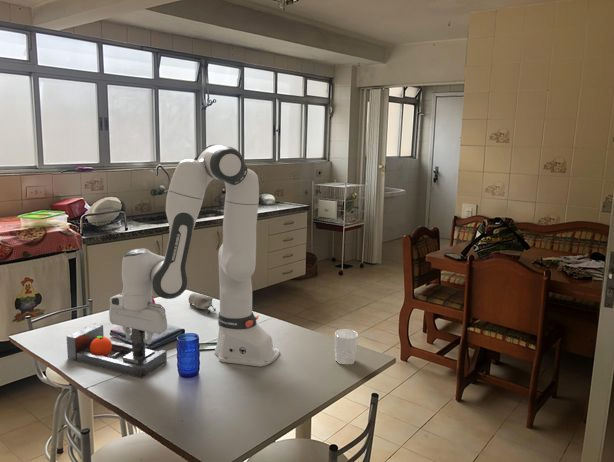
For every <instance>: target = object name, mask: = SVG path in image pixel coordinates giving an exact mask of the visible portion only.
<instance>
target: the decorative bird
mask: <svg viewBox="0 0 614 462" xmlns="http://www.w3.org/2000/svg"><path fill="white" fill-rule="evenodd" d="M213 300H214V297H212V296H209V295H206V294H200V293H196V292H193V293H191V294H189V296H188V303H189V306H191V305H194V306H195V308H197V309H200V310H207V311H208V312H207V315H210V313H211V309H213V312H217V311H216V307H215V308H214V306H213ZM210 307H212V308H211V309H210Z"/></svg>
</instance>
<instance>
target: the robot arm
mask: <svg viewBox="0 0 614 462" xmlns="http://www.w3.org/2000/svg"><path fill="white" fill-rule="evenodd" d="M213 180H217V181H218V180H219V181H222V182H224V185H225V186H224V187H225V199H224V207H223V219H222V244H221V245H220V247H219V249H218V254H217V255H218V281H219V312H218V316H217V317H218V319H217V323H218V336H217V342H216V346H215V348H214V354H215V355H216V356H217V358H218V360H219V361H220V362H222V363H229V364H236V365H237V364H238V365H244V366H253V367H260V368H261V367H265V366H268V365H270V364H271V363H273V362H274V361H276V359H277V358H278V357H279V355H280V349H279V348H277V347H274V344H273V338H272V337H271V335H270V334H269V333H268V332H267V331H265V329H263V328H262V327H261V326H260V325H259V324H258V323H257V320H259V317H260V315H256V316H255V314H254V311H253V285H252V276H253V274H254V272H255V270H256V262H257V260H256V259H257V221H258V210H259V200H260V184H259V175H257V173H256V172H255V171H254V170H252V169H250V168H247V166H246V163H245V160H244V157H243V156H242V154H241V153H240V151H239V150H237V149H236V148H234V147H232V146H228V145H225V144H210V145H208V146H206V147H205V148H203V149H202V151H201V152H199V153H198V155H197V156H196V157H195V158H193V159H192V158H186V159H182V160H181V161H179V162H178V164H177V166H176V167H175V170H174V171H173V173H172V177H171V180H170V183H169V185H168V186H169V187H168V190H167V194H166V200H165V214H166V218H167V222H168V227H169V237H168V242H167V247H166V250H165V255H164V256H163V255H159V254H157V253H154V252H152V251H150V250H149V249H148V248H143V247H142V248H136V249H135V248H134V249H131V250H130V251H127V252H126V253H125V254H124V255H123V258H122V261H121V280H122V283H123V284H122V285H123V286H122V292H121V293H118V294H116V295H113V296H111V297H110V298H109V304H110V305H109V311H108V315H109V317H108V318H109V322H110V323H111V325H116V326H120V327H122V331H123V332H124V334H125V339H126V340H129V341H132V330H131V329H132V328H133V329H137V330H142V331H145V334H146V335H147V336H145V338H144V343H145V345H146V344H147V345H150V344H151V343H152V338H153V336H154V335H161V334H163V333H165V332H166V331H167V330H168V320H167V315H166V309H165V307H164V306H163V305H162V304H160V303H156V302H155V303H156V304H155V303H152V296H153V291H154V293H155V294H156V295H157V296H158V297H160V298H161V299H165V300H166V299H167V300H172V299H176V298H177V297H180V296H181V295H182V294H183V293H184V292H185V290H186V288H187V287H188V277H187V272H186V263H187V258H188V253H189V249H190V245H191V241H192V235H193V232H194V229H195V226H196V222H197V219H198V217H199V214H200V211H201V208H202V205H203V201H204V199H205V198H204V197H205V193H206V189H207V188H208V186H209V184H210V183H211V181H213Z"/></svg>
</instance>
